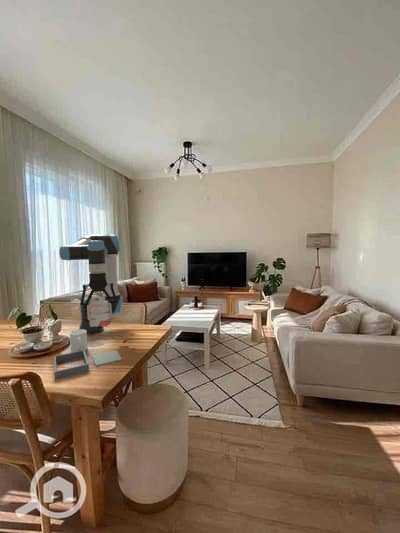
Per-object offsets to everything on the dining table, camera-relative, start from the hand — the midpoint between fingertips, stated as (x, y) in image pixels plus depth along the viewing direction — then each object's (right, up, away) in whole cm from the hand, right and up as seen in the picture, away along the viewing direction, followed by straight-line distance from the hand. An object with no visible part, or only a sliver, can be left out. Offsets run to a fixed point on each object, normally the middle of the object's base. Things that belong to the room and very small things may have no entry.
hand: (99, 317), depth 122 cm
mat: (+2, -21, +3) cm, 22 cm away
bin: (-11, -22, -5) cm, 26 cm away
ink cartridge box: (0, -4, 0) cm, 4 cm away
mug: (-16, -21, +13) cm, 29 cm away
